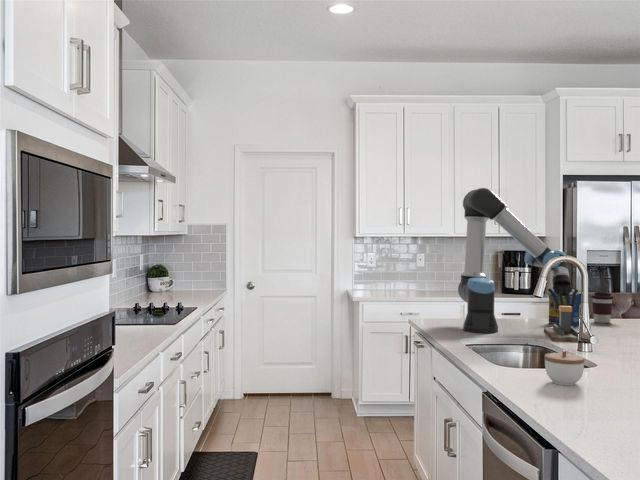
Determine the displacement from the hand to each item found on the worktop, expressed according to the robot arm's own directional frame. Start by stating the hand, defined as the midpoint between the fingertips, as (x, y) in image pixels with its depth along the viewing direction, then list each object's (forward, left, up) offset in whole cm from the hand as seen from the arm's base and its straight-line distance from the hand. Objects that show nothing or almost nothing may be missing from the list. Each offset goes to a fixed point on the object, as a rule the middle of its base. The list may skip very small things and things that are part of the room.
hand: (566, 320), depth 251 cm
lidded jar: (-15, -90, -6) cm, 91 cm away
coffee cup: (+24, +45, -6) cm, 52 cm away
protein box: (+6, +34, -6) cm, 35 cm away
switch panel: (-1, -5, -6) cm, 8 cm away
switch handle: (-1, -3, -4) cm, 6 cm away
